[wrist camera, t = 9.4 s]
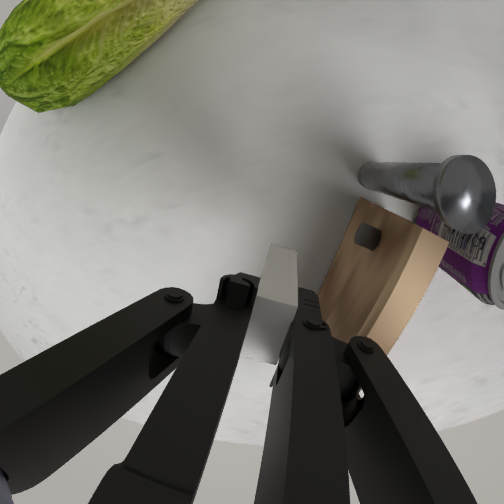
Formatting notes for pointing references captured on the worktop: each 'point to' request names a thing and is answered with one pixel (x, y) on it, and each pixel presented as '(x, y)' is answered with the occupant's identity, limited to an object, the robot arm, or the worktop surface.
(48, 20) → the lettuce
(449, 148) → the worktop surface
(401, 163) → the post
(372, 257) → the gate
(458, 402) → the worktop surface
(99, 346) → the robot arm
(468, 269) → the beverage can
